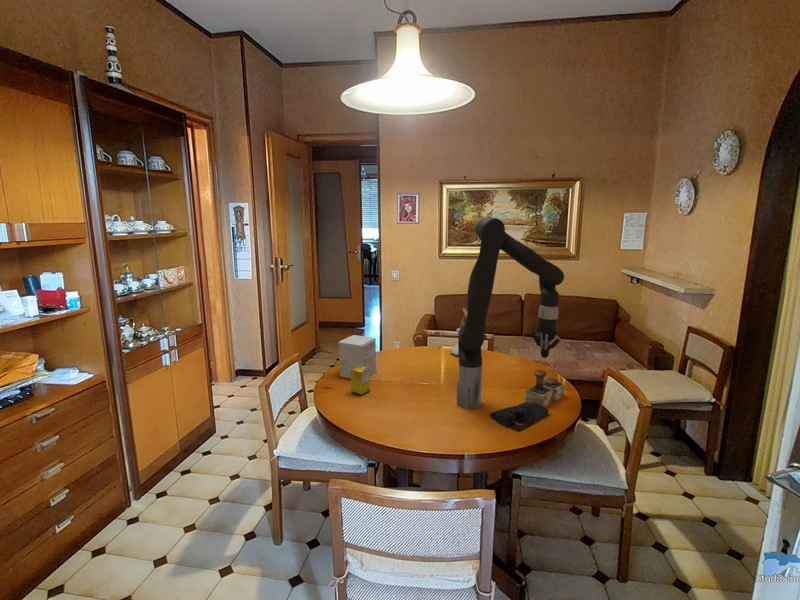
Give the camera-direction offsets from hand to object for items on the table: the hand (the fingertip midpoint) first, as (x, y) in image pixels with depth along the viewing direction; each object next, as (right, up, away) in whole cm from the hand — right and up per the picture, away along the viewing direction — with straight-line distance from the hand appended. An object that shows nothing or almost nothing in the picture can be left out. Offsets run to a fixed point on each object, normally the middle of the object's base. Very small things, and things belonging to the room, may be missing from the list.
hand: (544, 357), depth 177 cm
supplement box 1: (-79, -13, +34) cm, 87 cm away
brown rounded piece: (-2, -13, 0) cm, 13 cm away
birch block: (+1, -18, +4) cm, 18 cm away
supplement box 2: (-76, -17, +13) cm, 79 cm away
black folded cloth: (-13, -22, -10) cm, 27 cm away
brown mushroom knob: (+5, -17, +7) cm, 19 cm away
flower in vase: (-25, -6, +61) cm, 66 cm away
